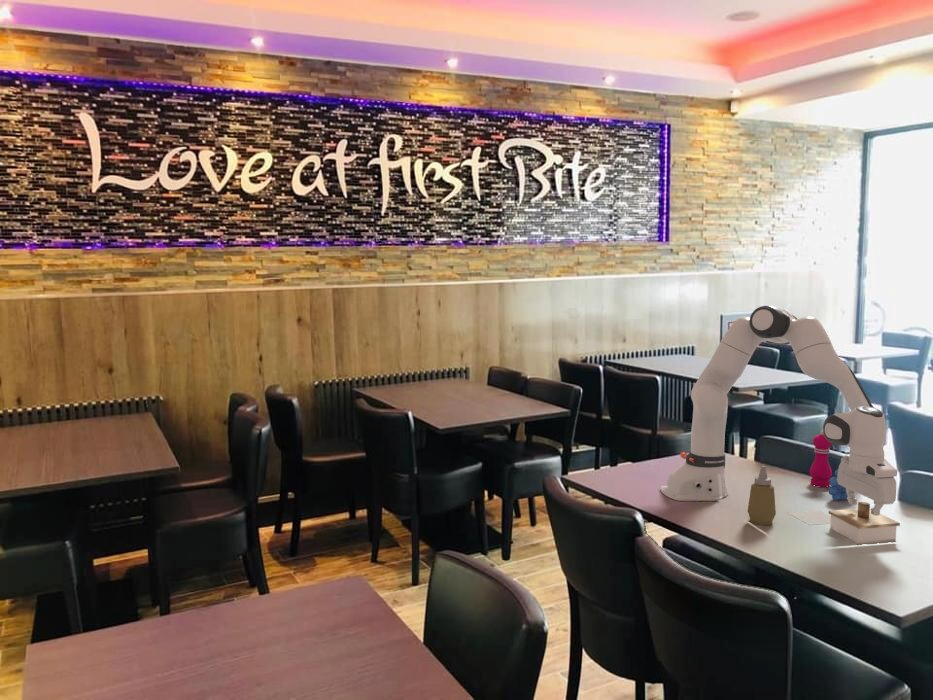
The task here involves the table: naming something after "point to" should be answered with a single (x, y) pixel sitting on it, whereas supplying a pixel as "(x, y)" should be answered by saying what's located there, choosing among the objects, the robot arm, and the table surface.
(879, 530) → the white open box
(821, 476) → the pepper mill
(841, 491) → the grapes
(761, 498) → the squeeze bottle
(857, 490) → the robot arm
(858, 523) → the lid
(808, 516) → the mat
